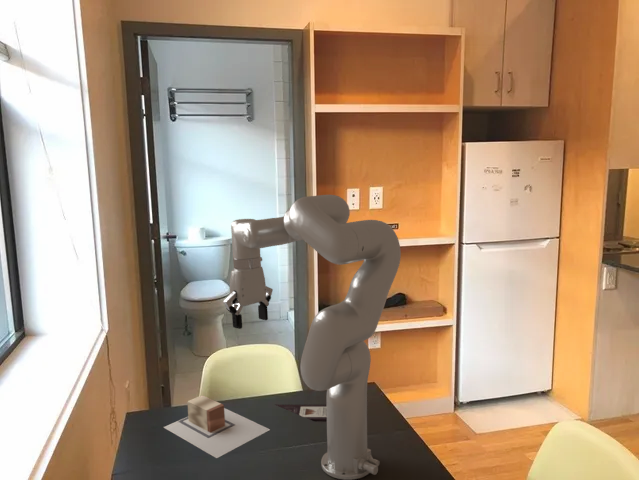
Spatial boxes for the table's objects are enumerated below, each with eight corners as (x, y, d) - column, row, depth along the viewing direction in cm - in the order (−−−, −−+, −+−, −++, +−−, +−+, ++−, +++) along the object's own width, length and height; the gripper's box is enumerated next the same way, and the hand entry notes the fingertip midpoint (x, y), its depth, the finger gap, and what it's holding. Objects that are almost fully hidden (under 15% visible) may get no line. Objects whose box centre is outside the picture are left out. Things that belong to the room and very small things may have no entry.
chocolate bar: (271, 404, 157) (331, 404, 156) (271, 407, 157) (331, 407, 156) (267, 419, 148) (330, 419, 147) (267, 422, 148) (330, 422, 147)
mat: (270, 431, 142) (270, 429, 142) (216, 460, 129) (216, 457, 128) (216, 405, 158) (216, 403, 158) (163, 429, 144) (163, 426, 144)
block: (188, 421, 147) (187, 401, 146) (203, 414, 151) (202, 395, 150) (210, 432, 141) (209, 411, 140) (225, 425, 144) (224, 405, 144)
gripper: (260, 258, 153) (263, 314, 156) (213, 267, 140) (217, 329, 142) (278, 259, 149) (281, 318, 151) (232, 270, 135) (236, 333, 138)
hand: (250, 323), depth 147 cm, fingers open, 9 cm apart
